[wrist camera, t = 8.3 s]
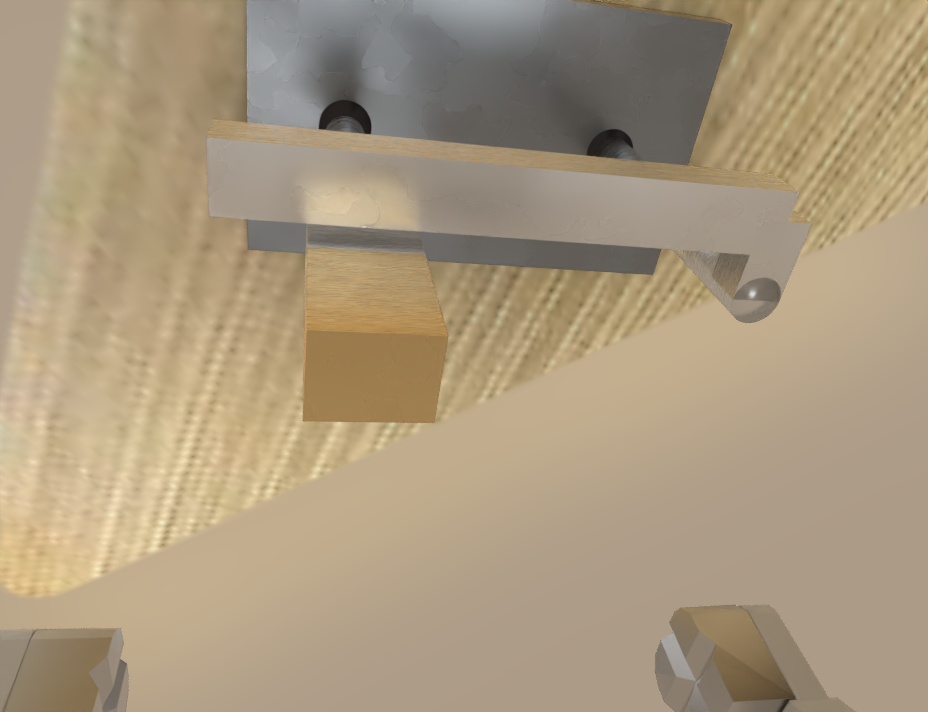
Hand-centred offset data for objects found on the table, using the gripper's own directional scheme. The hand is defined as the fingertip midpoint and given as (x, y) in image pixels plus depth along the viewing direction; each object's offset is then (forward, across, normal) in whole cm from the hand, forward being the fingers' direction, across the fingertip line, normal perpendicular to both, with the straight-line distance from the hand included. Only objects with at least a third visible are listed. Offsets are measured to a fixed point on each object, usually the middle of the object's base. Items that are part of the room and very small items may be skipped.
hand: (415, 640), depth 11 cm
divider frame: (+25, -4, -1) cm, 26 cm away
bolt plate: (+26, -6, 0) cm, 27 cm away
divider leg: (+25, 0, 0) cm, 25 cm away
